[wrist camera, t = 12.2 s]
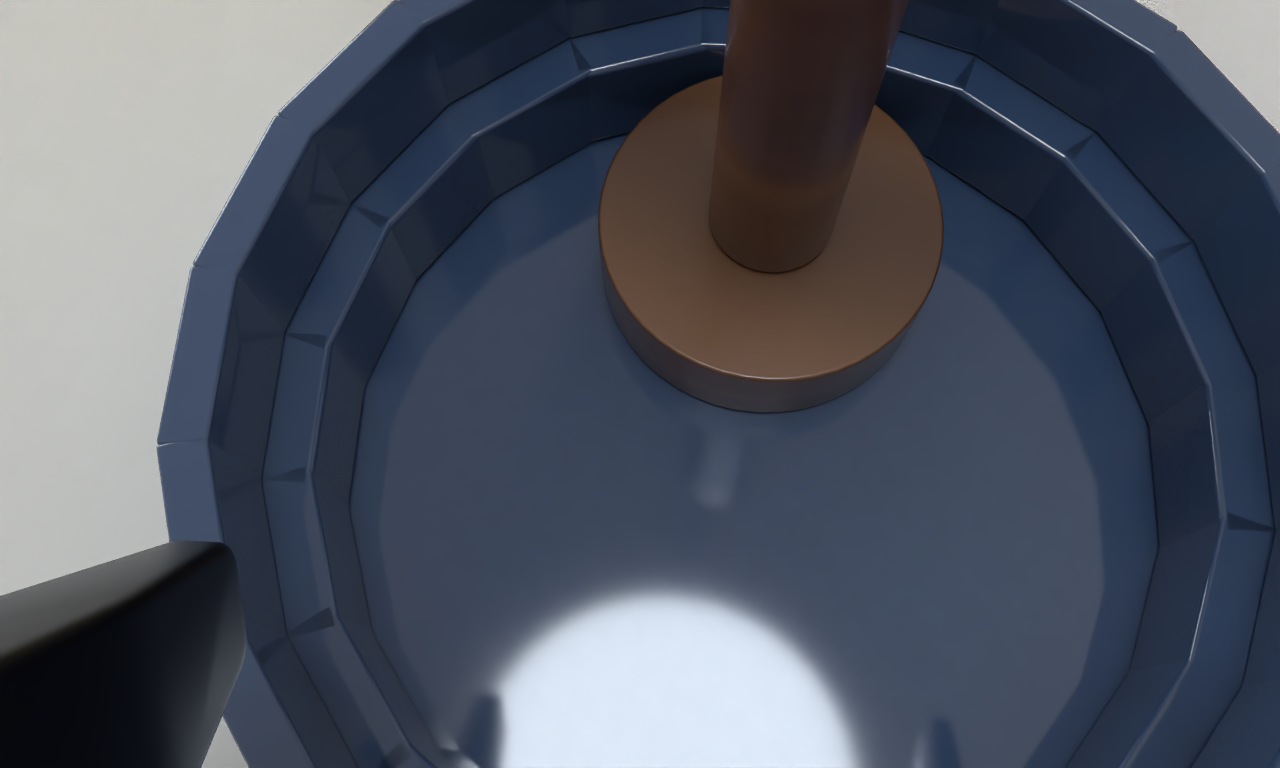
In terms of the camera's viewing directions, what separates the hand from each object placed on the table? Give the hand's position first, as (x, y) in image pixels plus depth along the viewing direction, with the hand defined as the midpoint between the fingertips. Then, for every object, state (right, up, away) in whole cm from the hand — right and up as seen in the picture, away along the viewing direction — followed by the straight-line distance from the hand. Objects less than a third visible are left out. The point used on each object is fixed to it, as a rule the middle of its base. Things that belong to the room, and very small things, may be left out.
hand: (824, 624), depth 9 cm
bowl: (0, 0, +9) cm, 9 cm away
